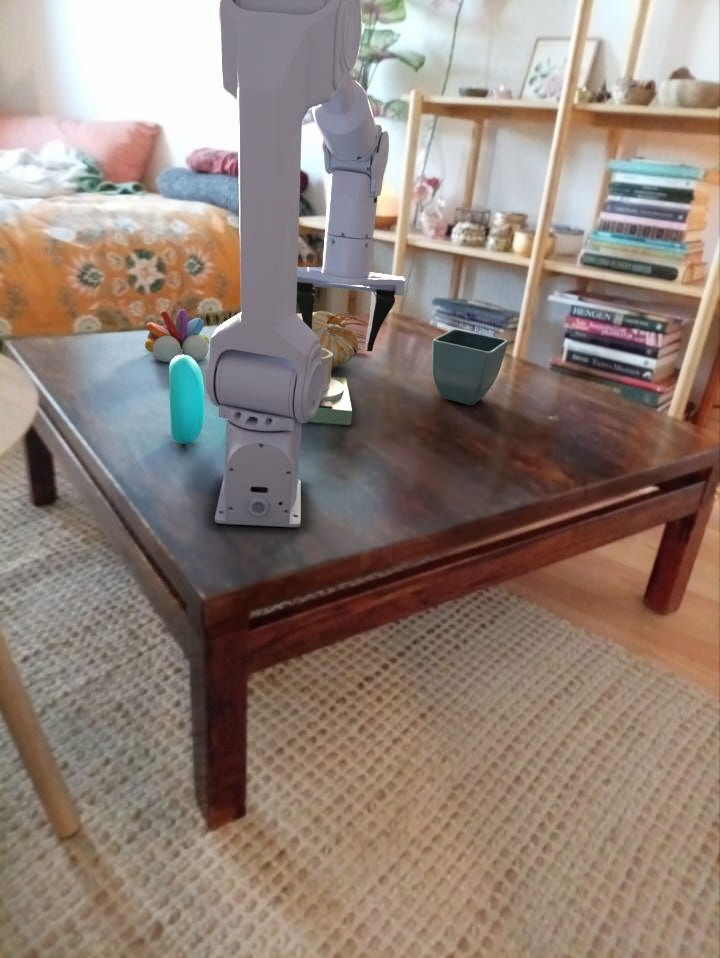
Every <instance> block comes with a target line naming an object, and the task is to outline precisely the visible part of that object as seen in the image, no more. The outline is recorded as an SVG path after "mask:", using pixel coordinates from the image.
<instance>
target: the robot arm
mask: <svg viewBox="0 0 720 958" xmlns="http://www.w3.org/2000/svg"><path fill="white" fill-rule="evenodd" d="M218 10H219V11H218V22H219V23H218V25H219V27H218V28H219V66H220V72H221V87H222V90H224V91H225V92H226V93H228V94H229V95H231V97H233V98H234V99H235V100H236V101H237V126H238V130H237V131H238V199H239V200H238V201H239V204H238V205H239V210H238V211H239V275H240V277H239V279H240V280H239V282H240V283H239V284H240V286H239V287H240V312H239V313H237V314H236V315H234V316H232V317H231V318H229V319H228V320H226V321H224V322H223V323H222V324H220V325H219V326H218V327H217V328H216V329H215V331H214V333H213V334H212V336H211V337H210V340H209V356H208V361H207V366H206V369H205V370H206V371H205V389H206V393H207V395H208V397H209V399H210V402H211V403H212V404H213V405H214V406H215V407H217V408H218V417H219V418H222V419H225V435H224V436H225V437H224V439H225V443H224V447H225V448H224V475H223V479H222V481H221V482H222V483H221V487H220V493H219V496H218V501H217V506H216V510H215V515H214V522H215V523H216V524H220V525H237V526H238V525H239V526H240V525H242V526H261V527H276V528H277V527H278V528H279V527H280V528H300V527H301V525H302V523H301V521H302V520H301V519H302V516H301V515H302V512H301V510H302V508H301V505H302V504H301V503H302V500H301V499H302V497H301V495H302V493H301V492H302V489H301V485H302V481H301V479H299V469H300V456H301V441H302V428H303V424H306V423H309V422H308V421H309V420H310V419H311V418H313V417H314V415H315V414H316V412H317V410H318V407H319V405H320V401H321V397H322V392H323V386H324V368H323V365H322V355H321V349H322V347H321V345H320V338H319V337H318V336H317V335H316V334H315V333H314V332H313V331H312V316H313V313H314V303H315V288H316V287H317V288H325V289H326V288H328V289H337V290H348V291H358V292H359V291H361V292H370V306H369V307H370V309H369V318H368V319H369V320H368V324H369V325H368V326H367V332H366V335H365V336H366V337H365V338H366V339H365V342H366V343H365V349H366V352H373V349H374V345H375V342H376V339H377V337H378V334H379V332H380V330H381V328H382V326H383V324H384V322H385V320H386V318H387V316H388V315H389V313H390V311H391V310H392V309H393V307H394V305H395V303H396V296H404V295H405V288H406V279H405V278H404V276H398V275H397V276H396V275H392V274H391V275H390V274H385V273H384V274H383V273H378V272H371V271H370V270H371V261H372V254H373V253H372V251H373V243H374V234H375V224H376V215H377V207H378V197H380V196H381V194H382V191H383V182H384V176H385V172H386V169H387V166H388V160H389V153H390V137H389V133H388V131H387V130H383V128H382V126H381V124H376V119H375V116H374V114H373V113H374V112H373V110H372V106H371V104H370V100H369V97H368V94H367V92H366V89H364V87H363V86H362V85H361V84H360V83H359V82H357V80H355V79H353V77H352V72H351V71H352V70H353V69H354V67H355V66H356V64H357V61H358V59H359V55H360V54H359V53H360V49H361V43H362V33H363V31H362V30H363V10H362V2H361V0H220V1H219V9H218ZM310 109H312V115H313V119H314V122H315V123H316V125H317V128H318V130H319V132H320V134H321V137H322V138H323V139H322V140H323V141H322V151H323V163H324V169H325V173H327V174H328V175H329V182H328V193H327V206H326V207H327V208H326V217H325V219H326V221H325V232H324V245H323V256H322V257H323V258H322V267H315V266H314V267H313V266H298V261H299V233H300V231H299V230H300V229H299V228H300V226H299V225H300V195H301V162H302V129H303V121H304V119H305V117H306V116H307V114H308V112H309V111H310ZM297 307H298V309H299V311H300V313H301V315H302V319H303V321H302V320H301V319H300V317H299V316H298V315H297V314H298V313H297Z"/></svg>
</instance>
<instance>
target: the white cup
mask: <svg viewBox="0 0 720 958" xmlns="http://www.w3.org/2000/svg"><path fill="white" fill-rule="evenodd" d="M321 355H322V365H323V368H324V386H323V391H325V390H327V389H329V387H330V379H331V377H332V370H331V368H332V357H333V354H332V352H331V351H329V350H327V349H324V348H322V349H321Z"/></svg>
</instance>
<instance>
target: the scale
mask: <svg viewBox="0 0 720 958" xmlns="http://www.w3.org/2000/svg"><path fill="white" fill-rule="evenodd" d="M352 413H353V409H352V403H351V397H350V393H349V387H348V380H347V377H336V376H331V379H330V387H329V389H327V390H325V391H323V392H322V397H321V401H320V405H319V407H318V410H317V412H316V414H315V415H314V417H313V418H311V419H310V420H309V421H308V422H307V423H317V424H331V425H333V424H334V425H346V426H351V423H352V417H353V415H352Z"/></svg>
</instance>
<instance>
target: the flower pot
mask: <svg viewBox="0 0 720 958" xmlns="http://www.w3.org/2000/svg"><path fill="white" fill-rule="evenodd" d="M508 344H509V340H508V339H504V338H500V337H496V336H491V335H485V334H482V333H481V334H480V333H476V332H471V331H466V330H461V329H456V328H453V329H451V330H449V331H446V332H444V333H443V334H441V335H439V336H437V337H435V338H433V340H432V359H431V360H432V361H431V362H432V365H431V366H432V368H431V369H432V377H433V383H434V385H435V388H436V390H437V392H438V394H439V396H440V398H441V399H444V400H448V401H452V402H457V403H460V404H464V405H468V406H474V405H475V404H476V403H478V402H479V401H480V400H481V399H482V398H484V397H485V395H487V393H488V392H489V391H490V389H491V388H492V386H493V385H494V384H495V382H496V379H497V378H498V375H499V373H500V370H501V367H502V365H503V361H504V357H505V356H506V355H505V354H506V351H507V349H508Z"/></svg>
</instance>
